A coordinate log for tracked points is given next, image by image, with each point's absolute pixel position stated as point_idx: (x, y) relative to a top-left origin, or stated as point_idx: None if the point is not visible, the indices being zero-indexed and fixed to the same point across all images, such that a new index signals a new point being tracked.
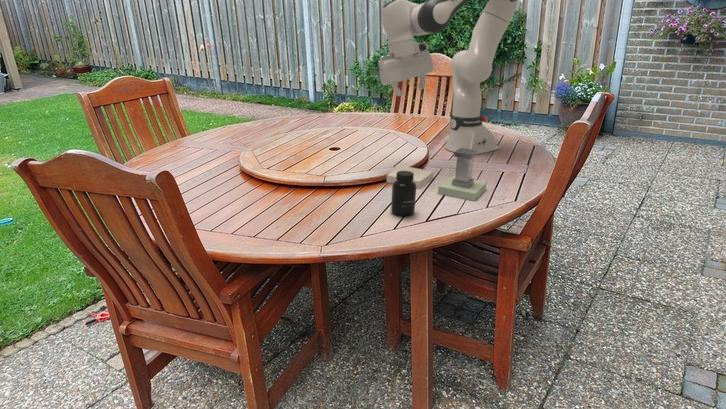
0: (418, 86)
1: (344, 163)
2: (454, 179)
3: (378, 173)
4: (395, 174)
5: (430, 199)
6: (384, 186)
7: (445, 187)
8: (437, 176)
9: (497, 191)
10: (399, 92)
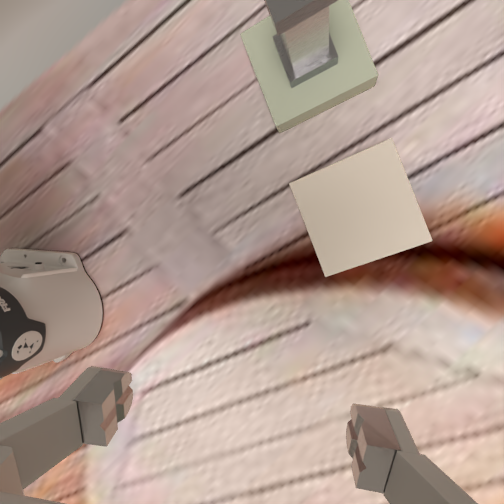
0: (117, 422)
1: None
2: (323, 61)
3: (387, 309)
4: (404, 229)
5: (426, 61)
6: (458, 216)
7: (368, 56)
8: (270, 191)
9: (233, 21)
10: (405, 434)
